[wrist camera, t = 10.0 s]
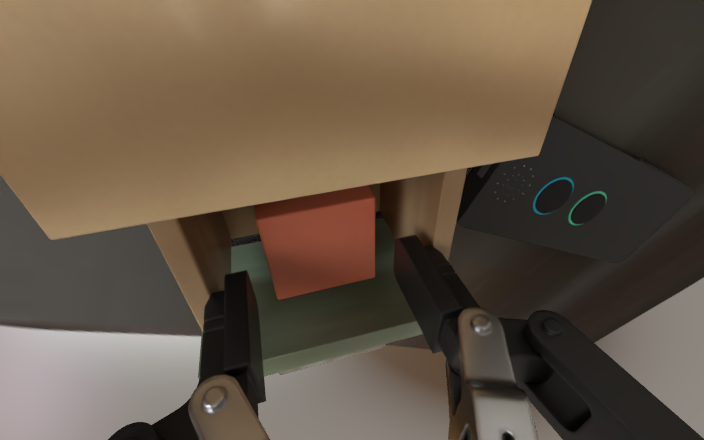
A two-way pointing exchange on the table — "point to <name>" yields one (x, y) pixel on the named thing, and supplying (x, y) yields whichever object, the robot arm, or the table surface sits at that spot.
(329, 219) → the block
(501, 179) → the smart home device
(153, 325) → the table surface
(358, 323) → the drawer
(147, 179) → the cabinet
